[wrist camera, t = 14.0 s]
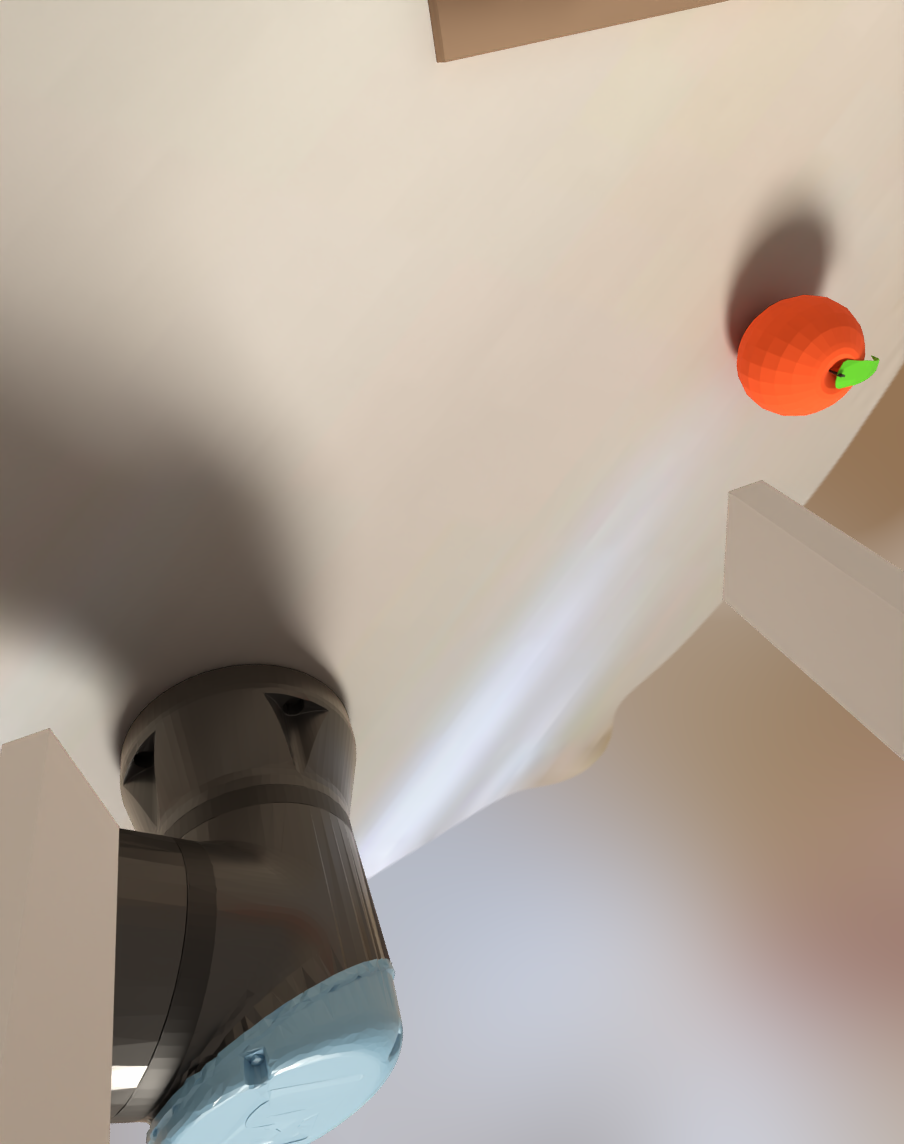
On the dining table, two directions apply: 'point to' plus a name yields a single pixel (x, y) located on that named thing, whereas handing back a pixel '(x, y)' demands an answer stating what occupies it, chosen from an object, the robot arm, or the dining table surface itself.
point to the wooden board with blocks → (532, 21)
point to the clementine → (802, 355)
